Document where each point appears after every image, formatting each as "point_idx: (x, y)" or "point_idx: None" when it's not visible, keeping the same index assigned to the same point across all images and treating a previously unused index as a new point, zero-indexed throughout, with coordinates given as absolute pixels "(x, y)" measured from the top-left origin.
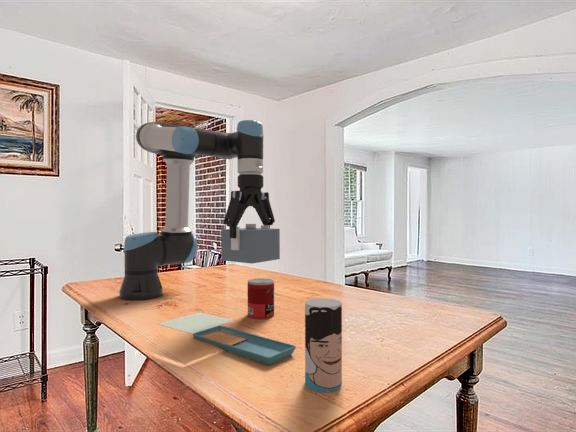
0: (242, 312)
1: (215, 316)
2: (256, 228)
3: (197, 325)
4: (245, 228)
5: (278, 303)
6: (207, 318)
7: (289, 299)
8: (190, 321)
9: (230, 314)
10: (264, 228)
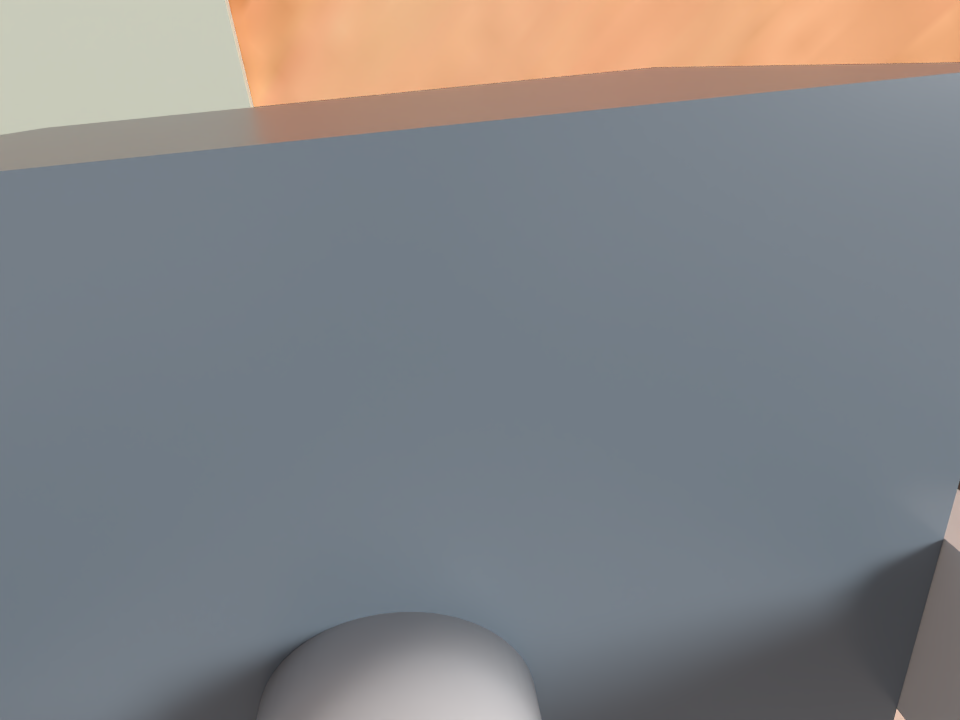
0: (459, 49)
1: (222, 30)
2: (737, 586)
3: (21, 128)
4: (561, 365)
5: (800, 55)
6: (149, 30)
7: (944, 27)
8: (9, 2)
9: (366, 24)
10: (822, 702)
